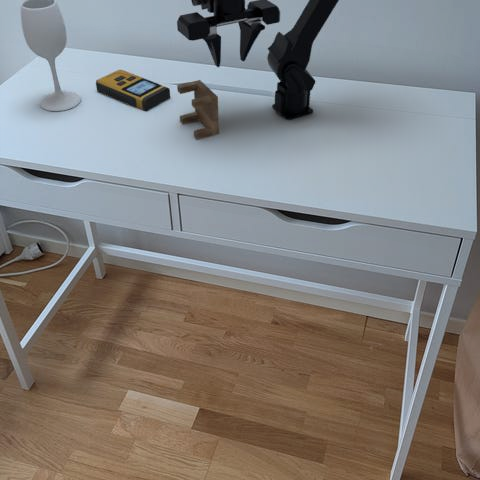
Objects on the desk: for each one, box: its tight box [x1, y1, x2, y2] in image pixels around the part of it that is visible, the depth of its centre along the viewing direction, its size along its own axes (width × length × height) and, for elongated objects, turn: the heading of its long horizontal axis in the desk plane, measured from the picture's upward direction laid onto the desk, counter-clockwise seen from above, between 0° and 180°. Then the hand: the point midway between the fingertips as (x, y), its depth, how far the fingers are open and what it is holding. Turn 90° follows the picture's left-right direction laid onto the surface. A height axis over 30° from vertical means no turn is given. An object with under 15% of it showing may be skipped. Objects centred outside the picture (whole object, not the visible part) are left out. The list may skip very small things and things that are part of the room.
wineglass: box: [20, 0, 82, 112], centre depth 120 cm, size 9×9×21 cm
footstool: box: [176, 79, 220, 141], centre depth 116 cm, size 5×8×8 cm, turn 28°
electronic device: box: [95, 69, 171, 112], centre depth 129 cm, size 8×16×3 cm, turn 52°
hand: (230, 63), depth 113 cm, fingers open, 5 cm apart
